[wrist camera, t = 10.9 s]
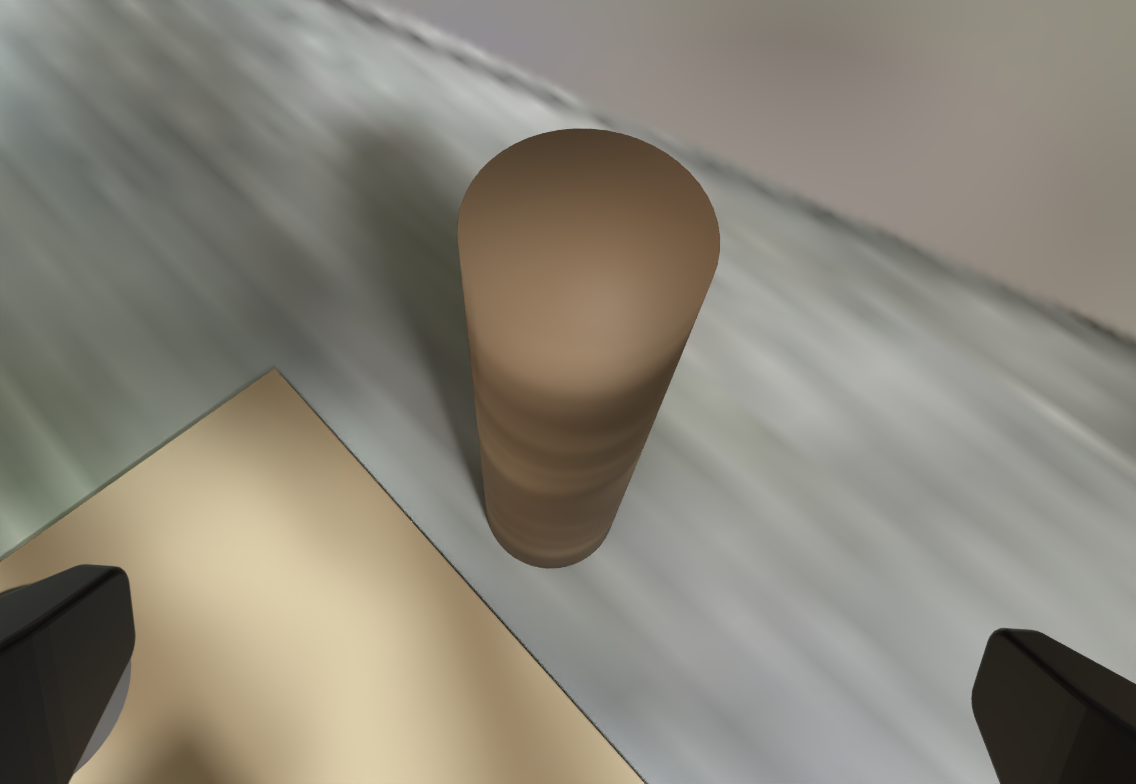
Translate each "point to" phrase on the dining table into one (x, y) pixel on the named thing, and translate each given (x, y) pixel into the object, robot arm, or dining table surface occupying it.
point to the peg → (576, 325)
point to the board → (301, 625)
